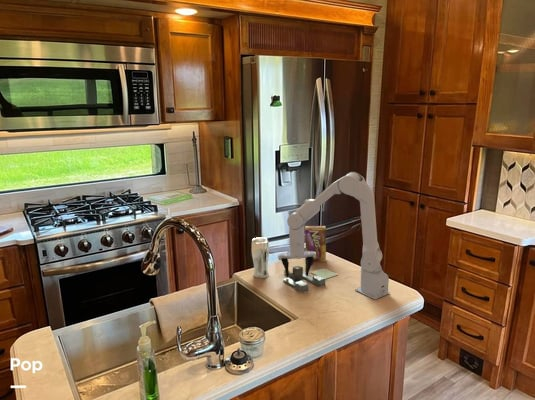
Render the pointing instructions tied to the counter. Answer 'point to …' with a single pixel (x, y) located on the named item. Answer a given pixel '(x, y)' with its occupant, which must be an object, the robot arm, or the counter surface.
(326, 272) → the plate
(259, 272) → the beer glass
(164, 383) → the counter surface
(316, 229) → the candy box
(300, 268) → the grey tapered rounded piece
